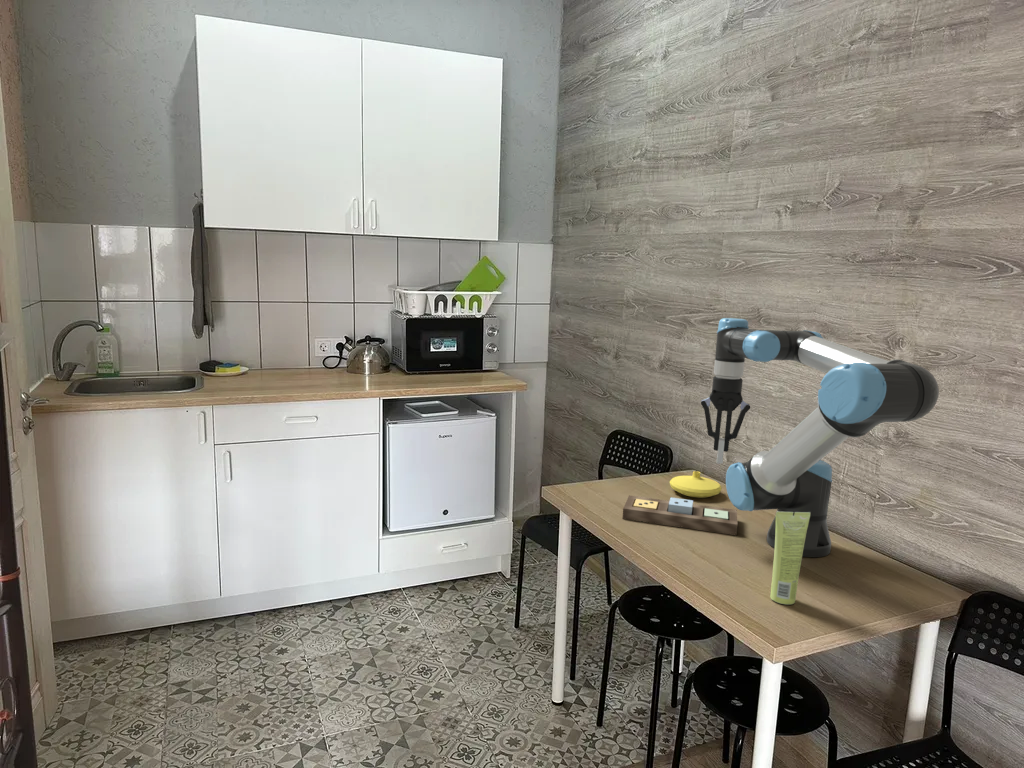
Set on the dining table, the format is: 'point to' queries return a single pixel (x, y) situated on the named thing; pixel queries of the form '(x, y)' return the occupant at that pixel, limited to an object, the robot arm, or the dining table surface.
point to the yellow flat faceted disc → (695, 485)
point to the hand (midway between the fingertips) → (719, 462)
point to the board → (681, 516)
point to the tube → (788, 555)
